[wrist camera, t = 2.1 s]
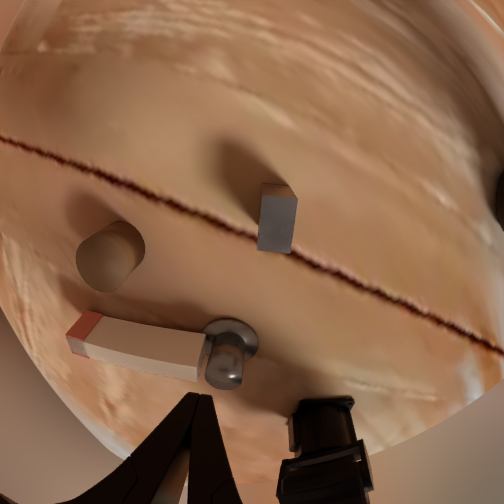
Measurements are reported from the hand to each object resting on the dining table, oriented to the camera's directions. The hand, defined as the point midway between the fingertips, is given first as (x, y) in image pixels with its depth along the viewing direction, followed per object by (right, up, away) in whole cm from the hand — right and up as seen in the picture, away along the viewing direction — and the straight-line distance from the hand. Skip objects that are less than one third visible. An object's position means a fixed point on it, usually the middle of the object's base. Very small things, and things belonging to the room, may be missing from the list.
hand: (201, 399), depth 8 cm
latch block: (+3, +8, +10) cm, 13 cm away
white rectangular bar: (-8, -2, +14) cm, 16 cm away
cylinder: (-8, +6, +12) cm, 15 cm away
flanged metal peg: (0, -3, +15) cm, 15 cm away
